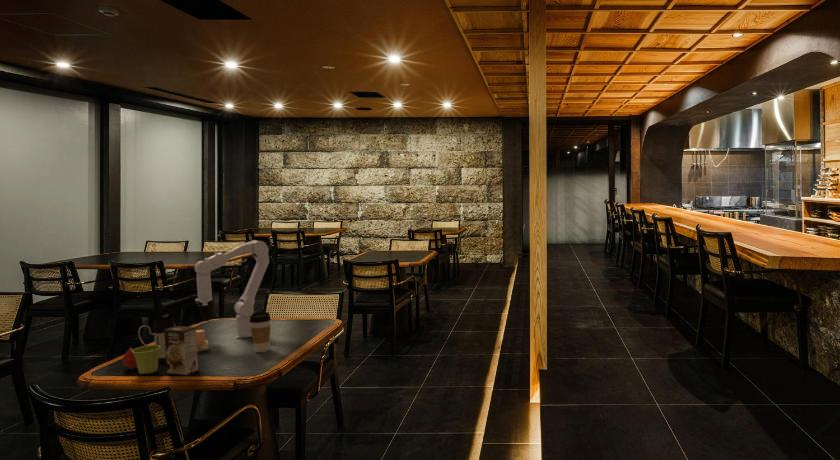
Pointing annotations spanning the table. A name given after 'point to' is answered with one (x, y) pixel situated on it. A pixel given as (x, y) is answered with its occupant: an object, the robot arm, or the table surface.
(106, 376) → the table surface
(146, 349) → the plant pot
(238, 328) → the robot arm
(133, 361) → the onion
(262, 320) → the coffee cup
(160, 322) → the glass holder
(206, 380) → the table surface
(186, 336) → the coffee box
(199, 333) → the painted block
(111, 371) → the table surface
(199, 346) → the birch base
